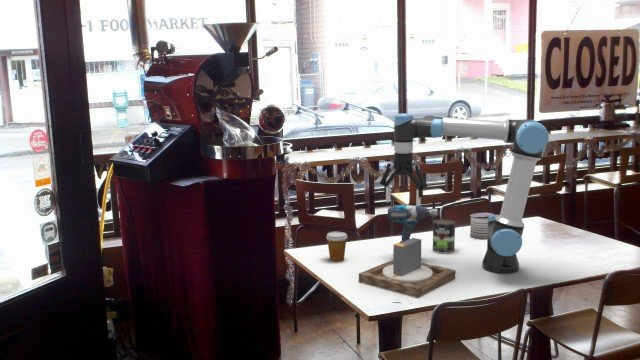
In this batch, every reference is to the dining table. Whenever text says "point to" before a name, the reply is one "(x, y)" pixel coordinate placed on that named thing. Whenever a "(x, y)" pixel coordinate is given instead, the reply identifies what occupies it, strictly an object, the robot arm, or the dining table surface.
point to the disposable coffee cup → (336, 245)
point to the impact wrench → (409, 217)
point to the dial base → (415, 290)
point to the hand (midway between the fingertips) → (403, 203)
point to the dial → (407, 263)
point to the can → (479, 226)
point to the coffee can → (443, 236)
